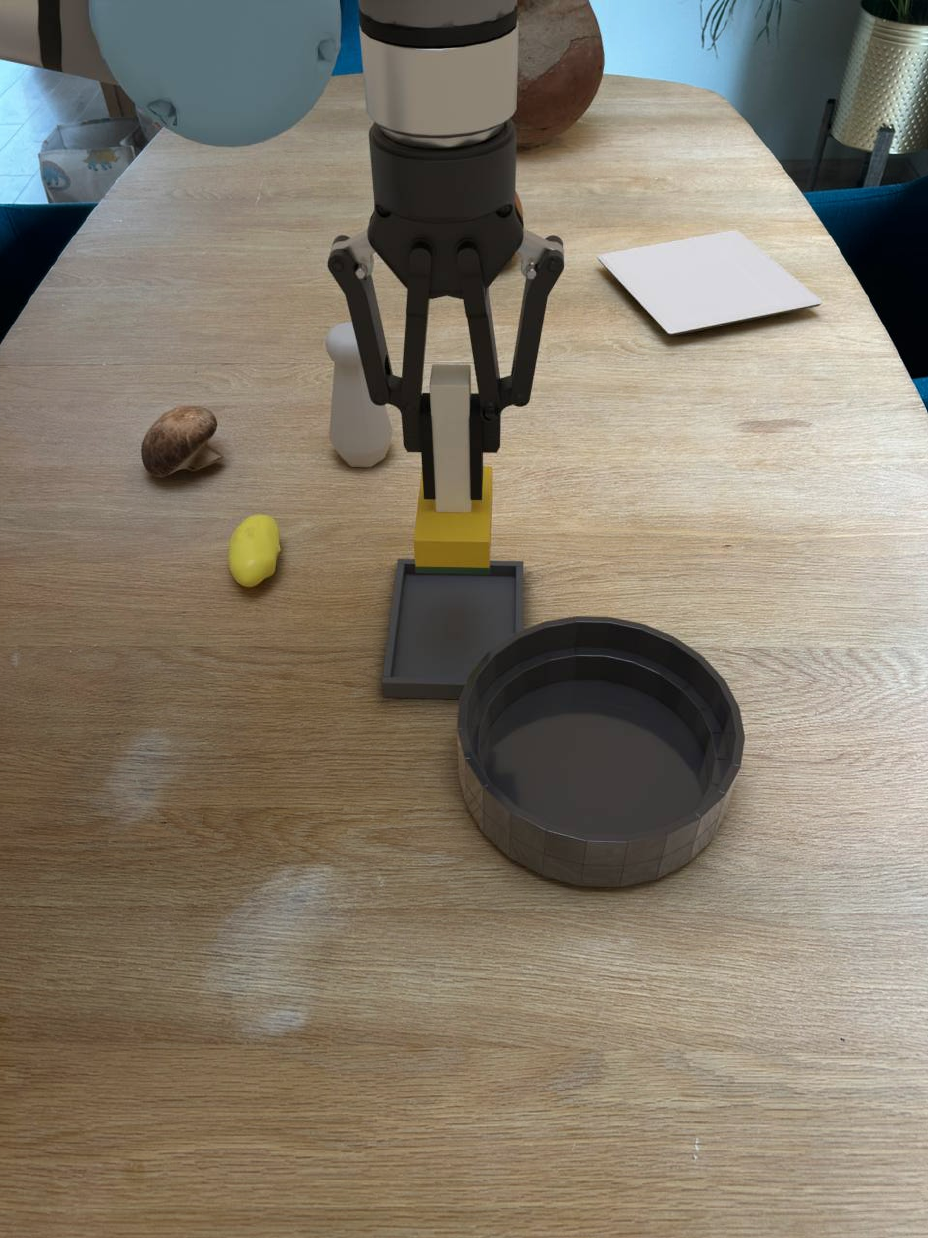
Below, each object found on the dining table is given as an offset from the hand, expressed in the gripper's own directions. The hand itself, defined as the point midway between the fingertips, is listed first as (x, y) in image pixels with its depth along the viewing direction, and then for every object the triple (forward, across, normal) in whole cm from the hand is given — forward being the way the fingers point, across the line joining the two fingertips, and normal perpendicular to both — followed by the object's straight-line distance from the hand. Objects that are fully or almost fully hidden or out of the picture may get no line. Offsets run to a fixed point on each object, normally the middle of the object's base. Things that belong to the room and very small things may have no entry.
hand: (454, 486), depth 67 cm
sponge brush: (+4, 0, 0) cm, 4 cm away
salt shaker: (+15, +10, -23) cm, 29 cm away
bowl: (+15, -10, +13) cm, 22 cm away
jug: (+15, -5, -98) cm, 100 cm away
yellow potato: (+15, +17, -7) cm, 24 cm away
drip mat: (+15, 0, 0) cm, 15 cm away
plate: (+15, -25, -54) cm, 61 cm away
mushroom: (+15, +26, -20) cm, 36 cm away
